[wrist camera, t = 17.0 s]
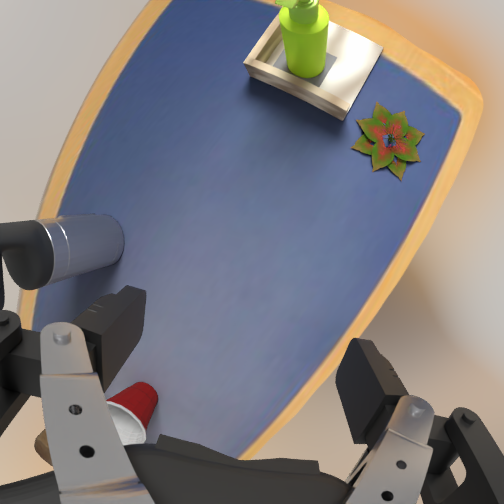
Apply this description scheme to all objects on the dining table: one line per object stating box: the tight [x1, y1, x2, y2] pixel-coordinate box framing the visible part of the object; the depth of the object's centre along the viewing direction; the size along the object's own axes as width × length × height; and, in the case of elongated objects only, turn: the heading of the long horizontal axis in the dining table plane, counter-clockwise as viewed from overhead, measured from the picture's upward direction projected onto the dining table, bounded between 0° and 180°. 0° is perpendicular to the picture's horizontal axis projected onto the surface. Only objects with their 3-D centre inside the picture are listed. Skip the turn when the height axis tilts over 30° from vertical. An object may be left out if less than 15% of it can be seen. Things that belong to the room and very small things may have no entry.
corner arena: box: [244, 14, 383, 121], centre depth 37 cm, size 16×16×5 cm
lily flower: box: [351, 102, 424, 180], centre depth 38 cm, size 12×12×5 cm
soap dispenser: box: [275, 0, 329, 78], centre depth 30 cm, size 6×7×20 cm
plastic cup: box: [106, 382, 158, 445], centre depth 47 cm, size 11×11×12 cm
